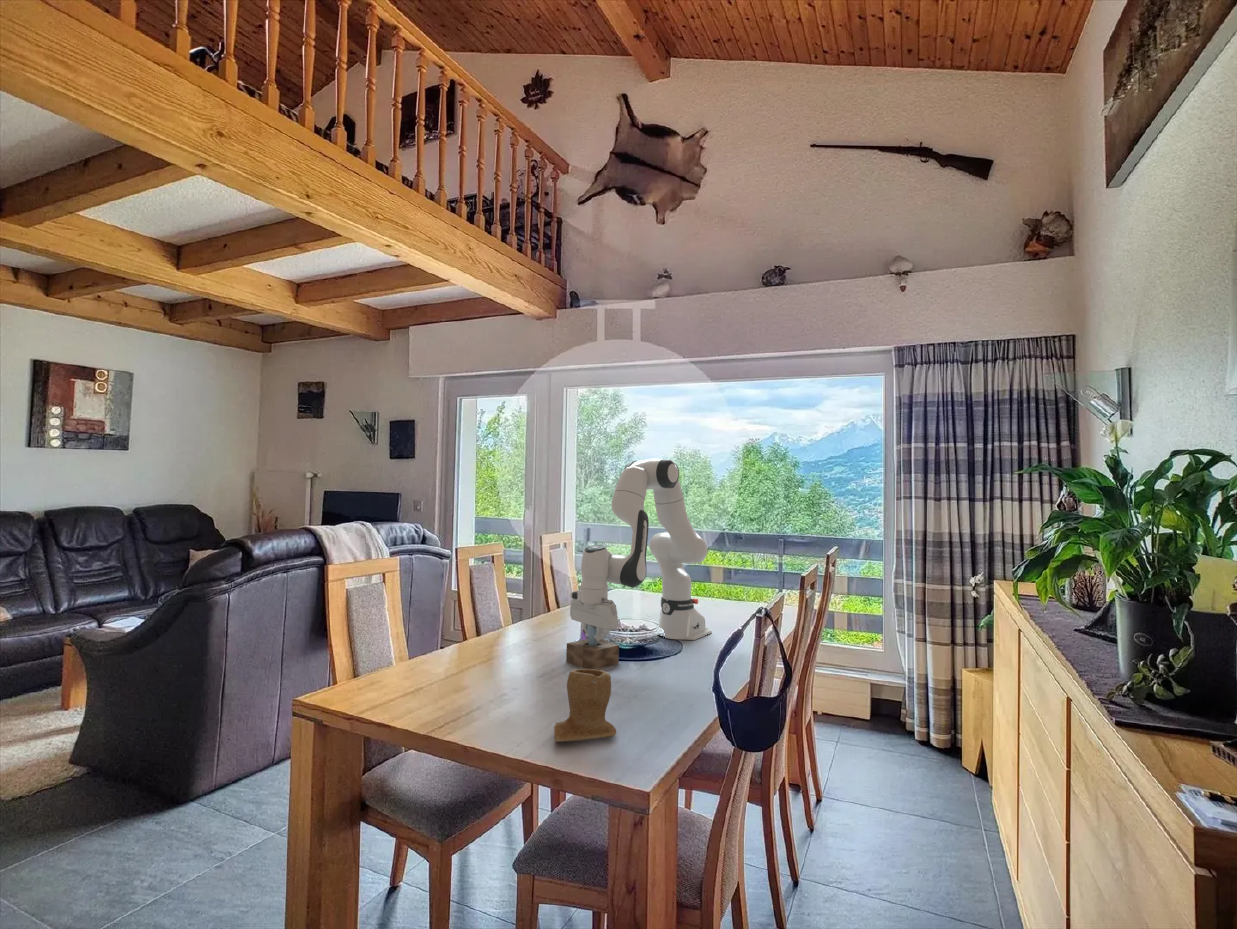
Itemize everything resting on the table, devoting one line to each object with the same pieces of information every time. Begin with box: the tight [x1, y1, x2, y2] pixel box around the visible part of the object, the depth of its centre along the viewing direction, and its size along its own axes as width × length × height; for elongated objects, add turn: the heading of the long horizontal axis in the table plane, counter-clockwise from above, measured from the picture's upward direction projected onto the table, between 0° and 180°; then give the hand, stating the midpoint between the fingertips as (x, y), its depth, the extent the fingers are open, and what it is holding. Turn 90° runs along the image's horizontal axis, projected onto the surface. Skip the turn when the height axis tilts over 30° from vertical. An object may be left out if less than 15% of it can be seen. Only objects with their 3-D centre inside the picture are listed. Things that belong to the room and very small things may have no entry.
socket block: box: [565, 639, 620, 670], centre depth 201 cm, size 12×12×6 cm
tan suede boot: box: [553, 668, 617, 743], centre depth 145 cm, size 15×12×15 cm
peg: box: [588, 625, 597, 647], centre depth 201 cm, size 3×3×12 cm
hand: (592, 638), depth 201 cm, fingers closed on peg, 3 cm apart
